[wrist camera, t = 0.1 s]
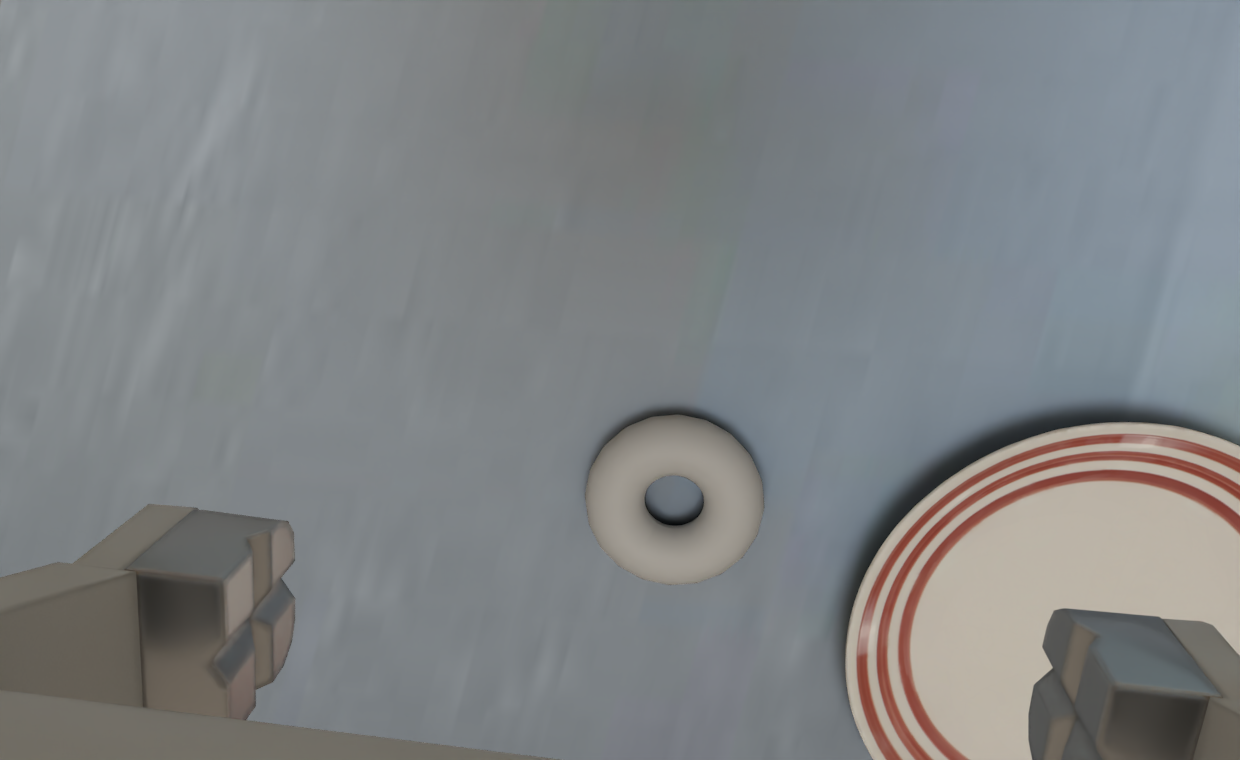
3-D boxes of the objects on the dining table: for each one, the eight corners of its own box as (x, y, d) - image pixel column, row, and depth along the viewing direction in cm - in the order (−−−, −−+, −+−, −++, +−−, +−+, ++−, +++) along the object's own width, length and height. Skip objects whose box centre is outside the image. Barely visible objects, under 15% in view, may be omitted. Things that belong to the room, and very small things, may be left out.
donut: (790, 442, 62) (622, 380, 61) (795, 465, 58) (618, 400, 58) (724, 591, 65) (564, 533, 64) (725, 621, 61) (556, 559, 61)
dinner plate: (1440, 522, 60) (1480, 549, 56) (1173, 896, 68) (1195, 938, 65) (976, 326, 59) (991, 341, 56) (763, 728, 67) (765, 762, 64)
